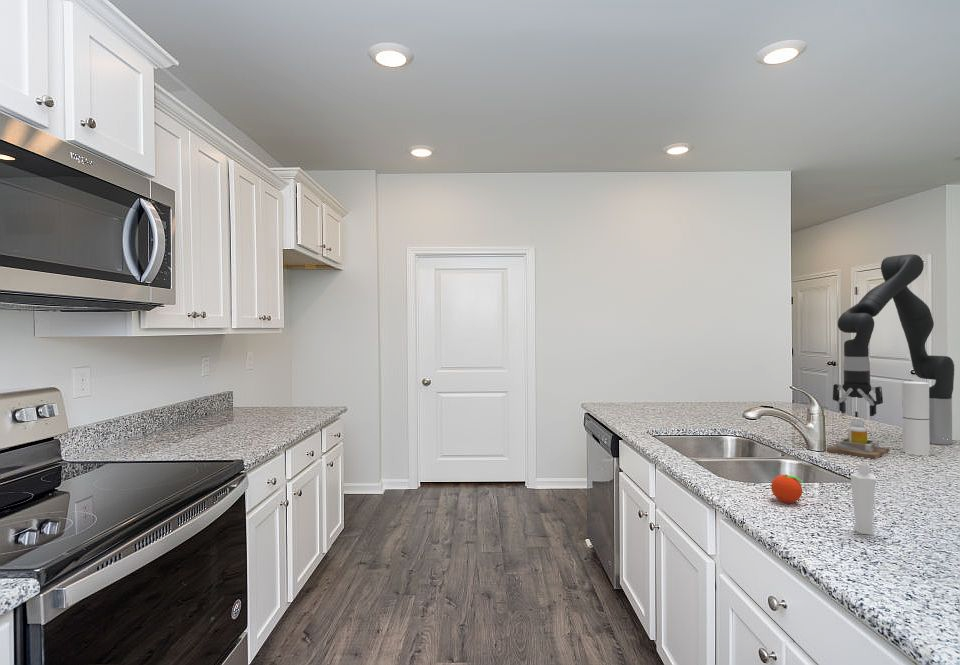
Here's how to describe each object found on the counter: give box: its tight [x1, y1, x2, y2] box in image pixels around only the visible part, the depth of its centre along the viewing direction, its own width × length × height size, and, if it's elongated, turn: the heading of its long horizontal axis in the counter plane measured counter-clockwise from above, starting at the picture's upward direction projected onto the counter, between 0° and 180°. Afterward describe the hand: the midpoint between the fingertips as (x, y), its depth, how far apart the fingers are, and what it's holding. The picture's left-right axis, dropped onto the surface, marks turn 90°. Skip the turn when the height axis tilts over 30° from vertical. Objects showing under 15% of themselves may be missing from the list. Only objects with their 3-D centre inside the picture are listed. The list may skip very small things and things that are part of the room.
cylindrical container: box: [901, 381, 931, 456], centre depth 176 cm, size 7×7×25 cm
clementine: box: [770, 474, 808, 504], centre depth 130 cm, size 8×7×7 cm
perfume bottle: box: [850, 462, 876, 536], centre depth 111 cm, size 5×4×15 cm
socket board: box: [826, 436, 890, 460], centre depth 179 cm, size 15×14×4 cm
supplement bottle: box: [847, 419, 868, 444], centre depth 179 cm, size 5×5×10 cm
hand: (857, 414), depth 179 cm, fingers open, 8 cm apart
